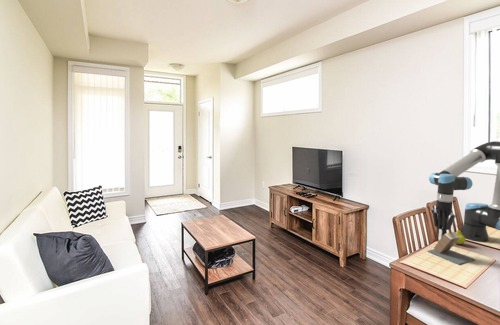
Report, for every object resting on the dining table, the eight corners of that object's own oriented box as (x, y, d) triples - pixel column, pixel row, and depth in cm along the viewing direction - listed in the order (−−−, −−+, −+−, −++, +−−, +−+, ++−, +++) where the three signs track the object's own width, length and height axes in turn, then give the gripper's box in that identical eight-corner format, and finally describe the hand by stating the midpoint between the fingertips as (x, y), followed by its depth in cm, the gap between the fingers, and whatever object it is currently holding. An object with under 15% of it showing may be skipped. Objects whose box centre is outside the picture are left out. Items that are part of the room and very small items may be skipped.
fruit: (466, 244, 170) (468, 226, 169) (462, 247, 167) (463, 228, 165) (454, 241, 176) (455, 223, 175) (449, 243, 173) (450, 225, 171)
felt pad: (442, 247, 166) (442, 246, 166) (474, 260, 150) (474, 259, 150) (427, 251, 160) (427, 250, 160) (458, 264, 145) (458, 263, 145)
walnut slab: (442, 245, 163) (453, 231, 157) (448, 251, 160) (460, 236, 154) (433, 248, 160) (444, 233, 154) (439, 253, 157) (451, 239, 151)
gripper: (429, 198, 161) (425, 236, 164) (452, 204, 149) (448, 245, 152) (437, 197, 164) (434, 234, 167) (461, 202, 152) (457, 243, 155)
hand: (441, 239), depth 160 cm, fingers closed
